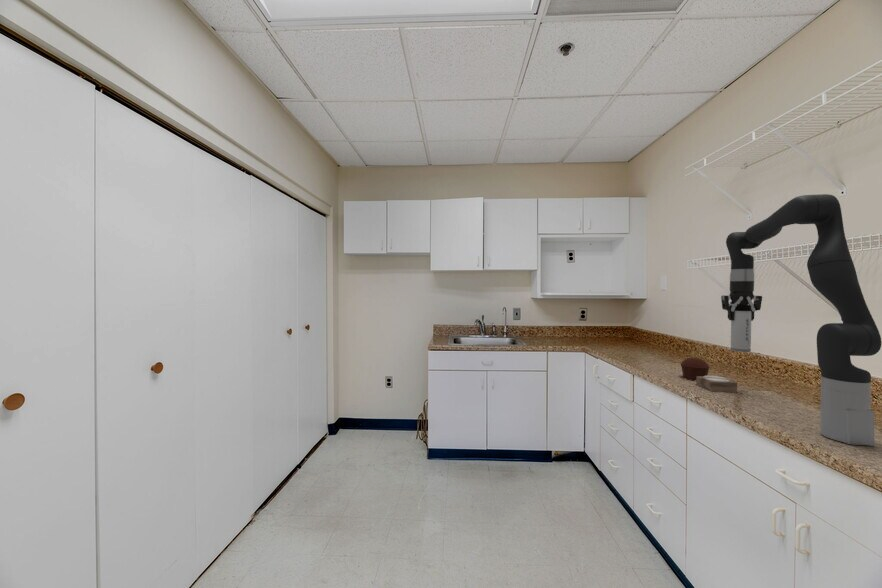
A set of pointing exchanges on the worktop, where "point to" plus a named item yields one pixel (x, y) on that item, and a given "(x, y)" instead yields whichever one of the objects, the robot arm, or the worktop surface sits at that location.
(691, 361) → the muffin
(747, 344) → the travel mug
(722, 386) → the walnut stand
